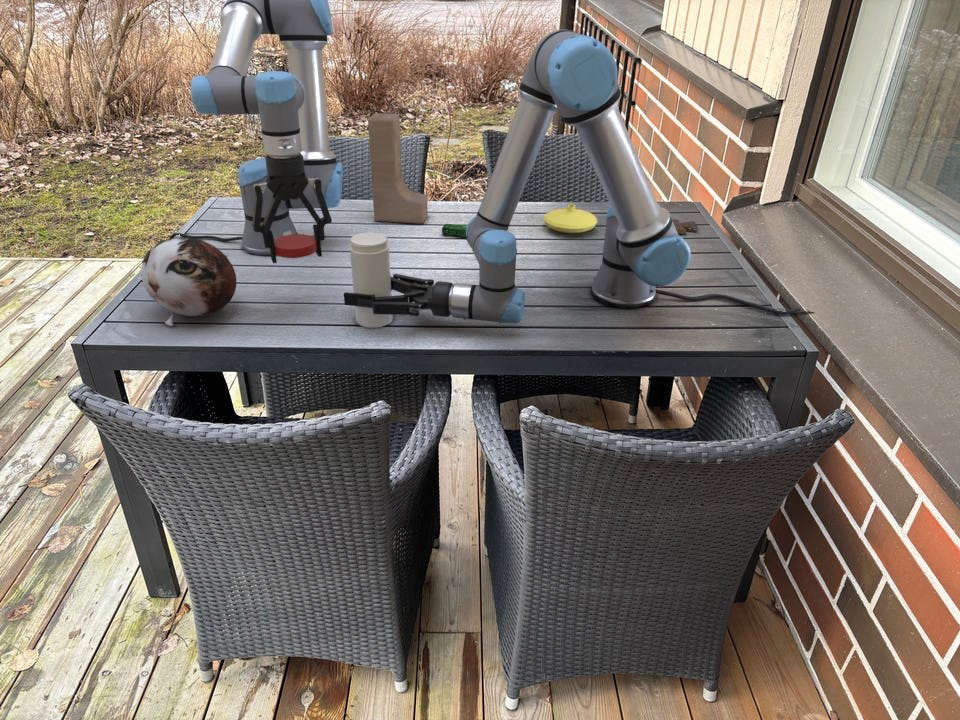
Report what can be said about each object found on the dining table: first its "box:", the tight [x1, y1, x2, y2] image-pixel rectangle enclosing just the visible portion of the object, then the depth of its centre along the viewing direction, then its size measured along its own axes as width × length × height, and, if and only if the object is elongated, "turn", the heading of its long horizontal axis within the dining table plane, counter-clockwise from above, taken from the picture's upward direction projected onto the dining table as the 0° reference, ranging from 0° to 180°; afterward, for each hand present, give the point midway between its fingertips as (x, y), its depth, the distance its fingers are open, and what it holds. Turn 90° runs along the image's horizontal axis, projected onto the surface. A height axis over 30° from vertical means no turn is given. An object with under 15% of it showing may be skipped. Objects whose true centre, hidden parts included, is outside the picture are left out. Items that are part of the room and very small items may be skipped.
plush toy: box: [140, 236, 238, 327], centre depth 157 cm, size 22×18×20 cm
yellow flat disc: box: [543, 203, 598, 234], centre depth 209 cm, size 16×16×7 cm
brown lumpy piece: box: [672, 218, 698, 235], centre depth 212 cm, size 26×2×10 cm
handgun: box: [441, 223, 467, 238], centre depth 207 cm, size 16×3×15 cm
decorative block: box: [367, 112, 429, 225], centre depth 209 cm, size 8×15×30 cm, turn 82°
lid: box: [274, 233, 317, 259], centre depth 155 cm, size 9×9×2 cm
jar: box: [349, 231, 394, 329], centre depth 155 cm, size 8×8×19 cm
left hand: (296, 257), depth 157 cm, fingers closed on lid, 9 cm apart
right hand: (352, 289), depth 158 cm, fingers closed on jar, 8 cm apart
